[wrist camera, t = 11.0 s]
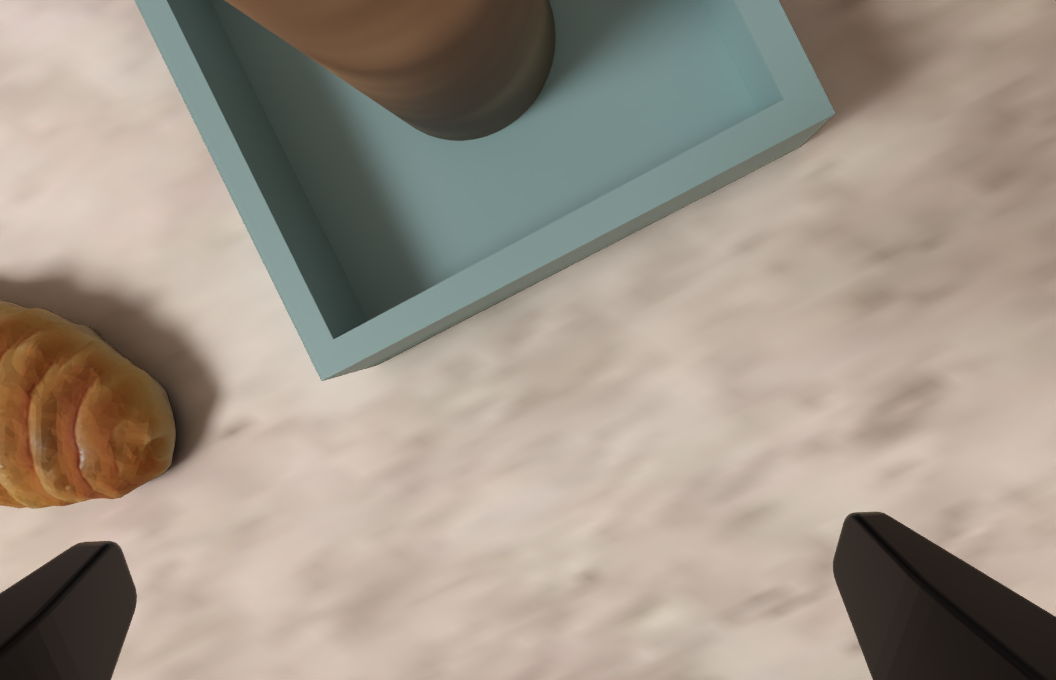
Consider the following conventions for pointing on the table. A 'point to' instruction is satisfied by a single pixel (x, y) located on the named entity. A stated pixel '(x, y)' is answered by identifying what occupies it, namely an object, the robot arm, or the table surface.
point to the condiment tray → (479, 158)
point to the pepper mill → (426, 55)
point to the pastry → (74, 414)
